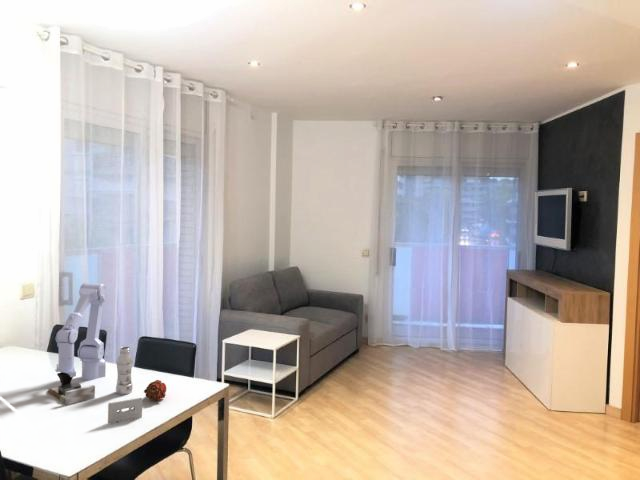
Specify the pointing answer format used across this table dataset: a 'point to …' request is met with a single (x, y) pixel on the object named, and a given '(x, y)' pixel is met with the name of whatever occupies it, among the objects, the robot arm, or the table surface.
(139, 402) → the cassette
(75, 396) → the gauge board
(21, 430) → the table surface
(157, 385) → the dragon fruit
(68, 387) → the grey rectangular block
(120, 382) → the plastic bottle
